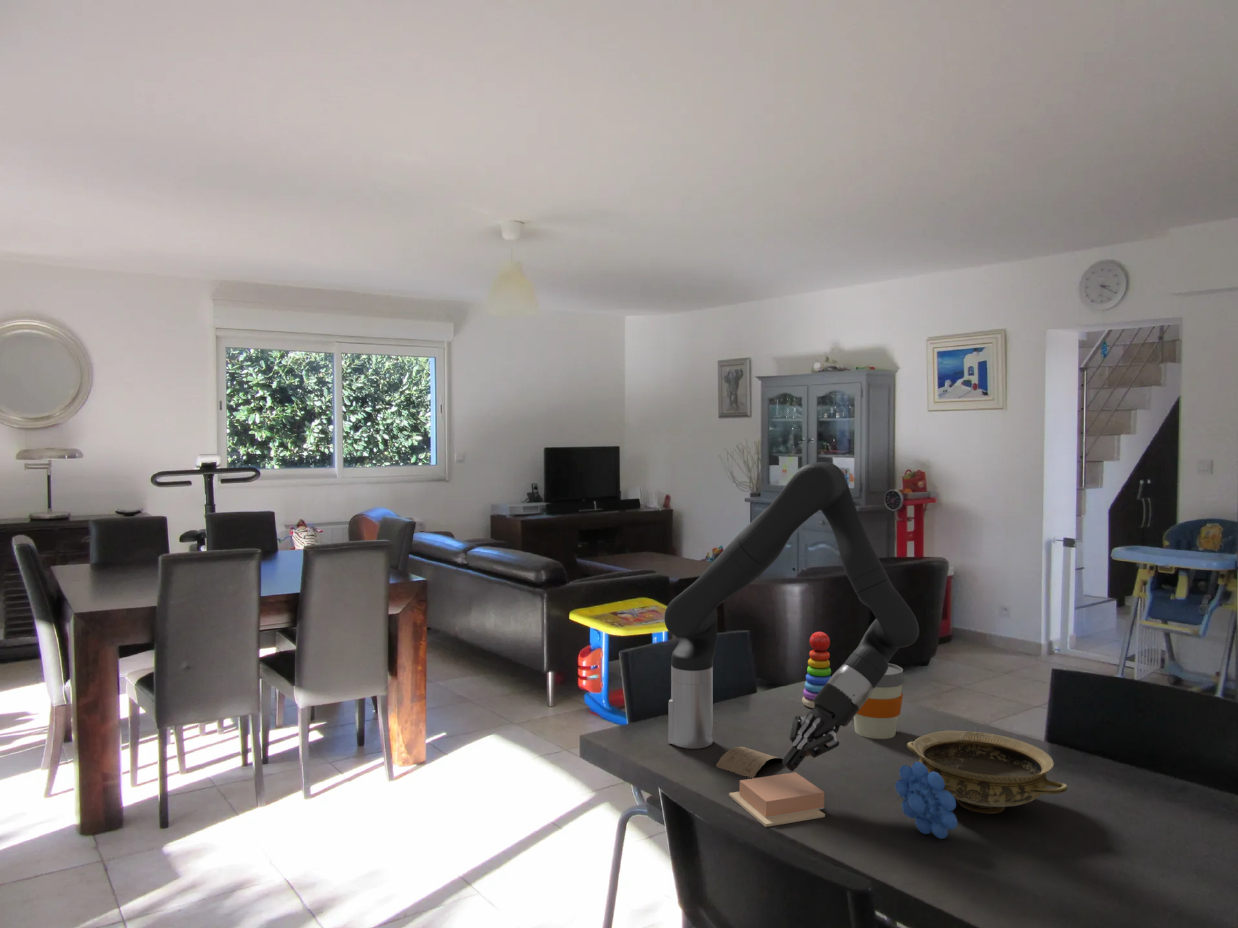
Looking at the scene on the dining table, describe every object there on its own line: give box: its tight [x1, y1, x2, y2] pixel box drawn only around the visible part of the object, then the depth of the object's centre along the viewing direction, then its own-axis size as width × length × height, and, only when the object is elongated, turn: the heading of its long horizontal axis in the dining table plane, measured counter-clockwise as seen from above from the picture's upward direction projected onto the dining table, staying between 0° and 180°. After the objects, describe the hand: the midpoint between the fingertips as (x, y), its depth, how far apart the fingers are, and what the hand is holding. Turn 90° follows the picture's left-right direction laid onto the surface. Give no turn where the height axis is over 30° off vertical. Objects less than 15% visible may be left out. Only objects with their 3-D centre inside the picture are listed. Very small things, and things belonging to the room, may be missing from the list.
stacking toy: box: [801, 631, 832, 709], centre depth 217 cm, size 8×8×19 cm
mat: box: [728, 791, 826, 828], centre depth 157 cm, size 12×14×1 cm
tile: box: [738, 771, 825, 818], centre depth 158 cm, size 3×10×12 cm
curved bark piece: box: [715, 746, 784, 779], centre depth 178 cm, size 14×10×3 cm
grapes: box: [894, 761, 958, 840], centre depth 145 cm, size 12×7×12 cm, turn 37°
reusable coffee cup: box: [853, 662, 905, 740], centre depth 197 cm, size 13×13×15 cm
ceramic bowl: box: [906, 730, 1068, 814], centre depth 158 cm, size 30×24×10 cm
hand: (786, 767), depth 158 cm, fingers closed
